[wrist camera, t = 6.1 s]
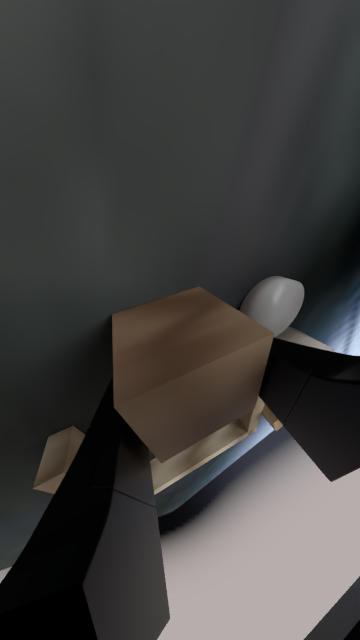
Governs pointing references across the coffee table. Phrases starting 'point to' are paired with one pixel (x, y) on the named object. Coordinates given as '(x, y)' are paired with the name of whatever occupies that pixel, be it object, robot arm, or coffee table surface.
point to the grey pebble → (274, 303)
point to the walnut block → (185, 368)
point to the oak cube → (271, 418)
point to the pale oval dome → (301, 339)
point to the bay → (69, 440)
